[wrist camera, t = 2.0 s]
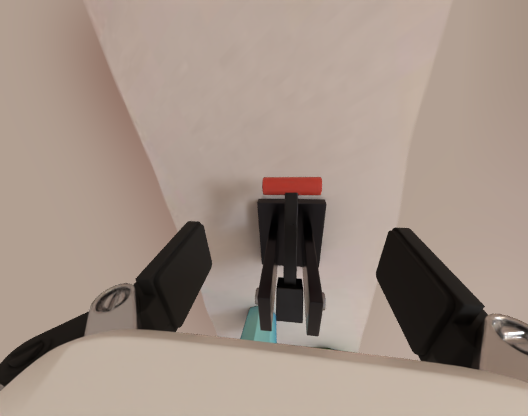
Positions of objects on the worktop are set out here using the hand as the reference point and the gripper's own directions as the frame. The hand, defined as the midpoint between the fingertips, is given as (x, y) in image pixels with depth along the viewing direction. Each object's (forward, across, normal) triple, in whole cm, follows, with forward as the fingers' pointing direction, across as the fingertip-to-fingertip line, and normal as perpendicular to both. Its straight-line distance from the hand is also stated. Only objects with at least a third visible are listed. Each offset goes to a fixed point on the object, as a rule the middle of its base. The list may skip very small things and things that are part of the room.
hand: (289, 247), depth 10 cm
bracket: (+14, 0, +8) cm, 16 cm away
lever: (+7, 0, +5) cm, 8 cm away
